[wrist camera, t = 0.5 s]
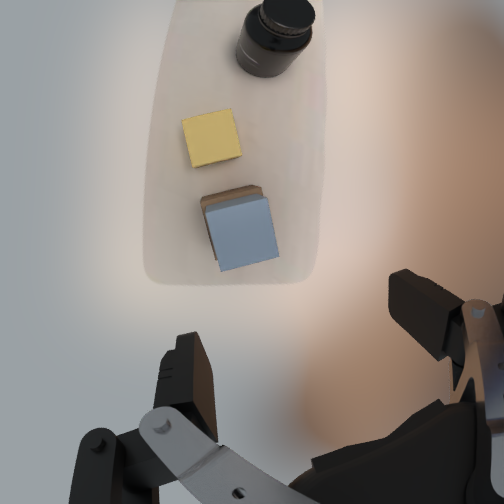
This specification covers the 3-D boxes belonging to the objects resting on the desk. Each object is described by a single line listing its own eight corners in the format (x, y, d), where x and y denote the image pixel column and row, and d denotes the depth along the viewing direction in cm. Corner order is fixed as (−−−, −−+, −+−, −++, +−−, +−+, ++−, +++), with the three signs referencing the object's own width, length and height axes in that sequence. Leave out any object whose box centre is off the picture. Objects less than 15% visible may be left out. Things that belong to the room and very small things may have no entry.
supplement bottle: (227, 69, 28) (237, 21, 16) (245, 28, 26) (262, -26, 15) (281, 86, 29) (317, 49, 18) (296, 45, 28) (332, 0, 16)
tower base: (202, 197, 32) (200, 202, 26) (252, 184, 32) (261, 187, 26) (214, 245, 34) (215, 260, 28) (262, 233, 34) (273, 245, 28)
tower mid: (206, 205, 26) (205, 213, 21) (256, 193, 27) (267, 198, 22) (219, 254, 28) (220, 271, 23) (267, 242, 28) (279, 256, 23)
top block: (185, 127, 29) (181, 120, 24) (227, 117, 30) (231, 108, 25) (195, 168, 31) (192, 167, 26) (237, 157, 31) (242, 155, 26)
